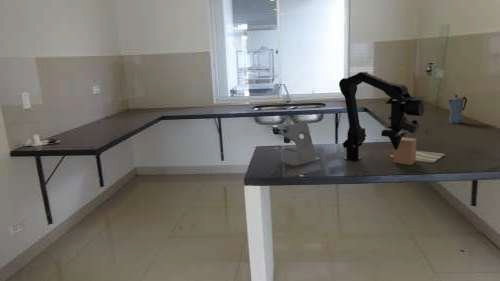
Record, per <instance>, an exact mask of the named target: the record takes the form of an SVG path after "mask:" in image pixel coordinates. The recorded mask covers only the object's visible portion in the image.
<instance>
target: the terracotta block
mask: <svg viewBox="0 0 500 281" xmlns="http://www.w3.org/2000/svg"><path fill="white" fill-rule="evenodd" d="M417 141H418V140H417V138H412V137H404V136H403V137H402V139H401V141H400V144H399V147H398V149H397V150H395V149H394V148H393V154H392V155H393V158H392V162H393V163H396V164H403V165H409V166H411V165H413V164H414V163H416V162H417V161H416V151H417Z"/></svg>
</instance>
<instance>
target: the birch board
mask: <svg viewBox="0 0 500 281" xmlns="http://www.w3.org/2000/svg"><path fill="white" fill-rule="evenodd" d="M445 155H446V154H445V153H440V152H429V151H423V150H422V151H421V150H416V161H415V162H420V163H425V164H426V163H427V164H434V163H436V162H437V161H439V160H440V159H441V158H443V157H444V156H445ZM388 157H389V158H391V159H393V154H390V155H389V156H388Z"/></svg>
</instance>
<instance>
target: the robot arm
mask: <svg viewBox="0 0 500 281" xmlns="http://www.w3.org/2000/svg"><path fill="white" fill-rule="evenodd" d="M338 83H339V84H338V86H339V89H340V93H341V95H342V96H343V97H344V101H345V106H346V107H345V108H346V113H347V121H348V130H347V136H346V138H347V139H346V140H345V141H343V142H342V146H343V148H345V149H346V155H345V157H343V160H347V161H353V162H356V161H359V160H361V159H362V157H361V156H360V154H359V153H360V150H359V149H360V147H362V145H363V143H364V142H365V141H366V137H367V135H366V128H365V127H363V128H362V126H361V124H360V119H359V113H358V112H359V111H358V106H357V105H358V104H357V98H356V94H357V91H358V85H360V84H362V83H365V84H366V85H370V86H372V87H373V88H375V89H378V90H381V91H382V92H384V94H385V95H386V96H388V97H389V99H388V100H387V101H386V102H385V104H387V105H390V116H388V120H389V121H390V122H389V123H390V125H388V128H385V129H382V130H381V133H380V134H381V135H380V136H382V137H387V138H389V140H390V142H391V144H392V146H393V150H394V149H395V150H397V149H398V147H399V144H400V141H401V139H402V137H404V136H406V135H407V132H409V133H410V134H414V133H416V132H417V130H418V129H419V127H420V126H419V125H420V124H419V121H418V120H417V119H413V120H412V121H411V120H408V117H407V116H412V117H414V116H415V117H422V116H424V112H425V107H426V106H425V104H424V102H423V99H413V96H411V95H410V92H409V90H408V89H409V88H408V87H407V86H406V85H404V84H402V83H401V84H400V83H395V82H389V81H388V80H387V81H386V80H384V79H382V78H379V77H378V76H375V75H374V74H373V75H372V74H371V73H368V72H367V71H360V72H358V73H356V74H354V75H351V76H349V77H343V78H341V79H340V80H339V82H338ZM406 115H407V116H406ZM404 131H407V132H404Z"/></svg>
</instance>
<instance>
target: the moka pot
mask: <svg viewBox="0 0 500 281" xmlns="http://www.w3.org/2000/svg"><path fill="white" fill-rule="evenodd" d="M454 96H455V97H451V98H448V100H447V101H448V106H449V111H450V113H449V119H448V123H449V124H463V123H464V119H463V113H462V111H464V110H465V109H466V104H467V102H468V99H467V98H466V96H461V97H459V96H458V94H455V95H454Z"/></svg>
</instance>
